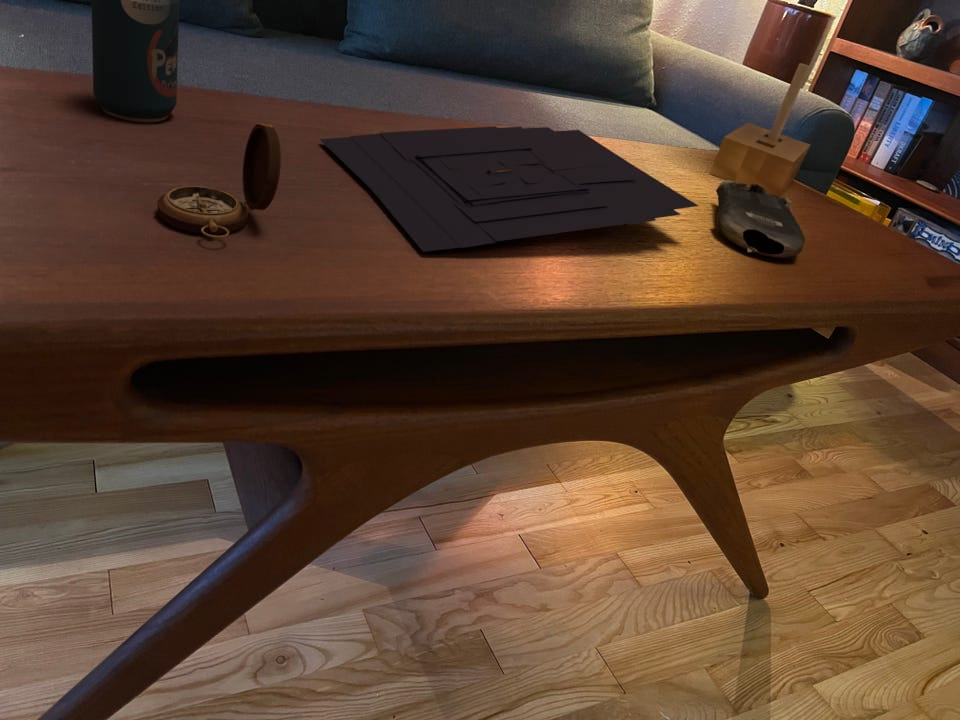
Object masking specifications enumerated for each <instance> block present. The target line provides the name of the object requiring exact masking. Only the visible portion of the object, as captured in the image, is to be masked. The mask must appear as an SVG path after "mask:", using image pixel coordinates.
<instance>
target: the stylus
mask: <svg viewBox="0 0 960 720" xmlns="http://www.w3.org/2000/svg"><path fill="white" fill-rule="evenodd" d="M810 69H811V66H810V65H808V64H805V63H802V62H801V63H799V64H798V66H797V68H796V71H795V73H794V75H793V78H792V80H791V82H790V84H789V86H788V89H787V91H786V93H785V95H784V98H783V101H782V103H781V105H780V107H779V110H778V112H777V115H776V117H775V118H774V121H773V124H772V126H771V129H770V133H769V135H768V137H767V138H770V139H773V140H775V141H778V138H779V136H780V134H781V135H782V132H783V130H784V128H785V125H786V122H787V120H788V118H789V116H790V113H791V111H792V109H793V107H794V104H795V102H796V100H797V98H798V95H799V93H800V91H801V88H802V86H803V84H804V82H805V79H806V77H807V75H808V73H809V70H810Z"/></svg>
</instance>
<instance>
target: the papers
mask: <svg viewBox="0 0 960 720" xmlns="http://www.w3.org/2000/svg"><path fill="white" fill-rule="evenodd" d="M318 140H319V141H320V142H321V143H322V144H323V145H325V146H326V148H327V149H328V150H330V151H331V152H332V154H334V155H335V156H336V157H337V158H338V159H339V160H340V161H341V162H342V163H343V164H344V165H345V166H347V168H349V169H350V171H352V172H353V173H354V174H355V175H356V176H357V177H358V178H359V179H360V180H361V181H362V182H363V183H364V184H365V185H366V186H367V187H369V189H370V190H371V191H372V192H373V193H374V195H375V196H376V197H377V198H378V200H379V201H380V202H381V203H382V204H383V205H384V207H385V208H386V209H387V210H388V212H390V214H391V215H392V216H393V217H394V219H395V220H396V221H397V222H398V223H399V225H400V226H401V227H402V228H403V229H404V231H405V232H406V233H407V234H408V236H409V237H410V238H411V239H412V240H413V241H414V243H415V244H416V246H418V248H420V250H421V251H422V252H423V253H424V252H433V251H441V250H451V249H460V248H461V249H463V248H470V247H477V246H483V245H489V244H497V243H501V242H504V241H509V240H510V241H511V240H516V239H523V238H532V237H538V236H547V235H553V234H562V233H569V232H576V231H584V230H590V229H591V230H592V229H598V228H606V227H614V226H629V225H631V226H632V225H635V224H636V225H637V224H643V223H649V222H656V221H657V219H662V218H669V217H674V216H682V214H681V213H680V212H678V211H677V210H682V209H688V208H696V207H699V204H697V203H695V202H693V201H692V200H691V199H690V198H687V197H686V196H684V195H683V194H681V193H679V192H677V191H676V190H674V189H672V188H671V187H669V186H668V185H666V184H664V183H663V182H662V181H659V180H658V179H656V178H654V177H653V176H652V175H650V174H648V173H647V172H645V171H644V170H642V169H640V168H638V167H637V166H635V165H634V164H633V163H631V162H629V161H628V160H626V159H624V158H623V157H621V156H620V155H618V154H617V153H615V152H614V151H612V150H611V149H609V148H607V147H606V146H604V145H603V144H601V143H600V142H598V141H597V140H595V139H594V138H592V137H590V136H589V135H587V134H586V133H584V132H583V131H581V130H579V129H572V130H571V129H569V130H568V129H567V130H554V129H552V128H550V127H548V126H546V127H545V126H544V127H543V126H542V127H522V126H506V127H497V126H479V127H459V128H458V127H457V128H441V129H440V128H439V129H423V130H405V131H384V132H379V133H370V134H359V135H349V136H345V137H331V138H319V139H318Z"/></svg>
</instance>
